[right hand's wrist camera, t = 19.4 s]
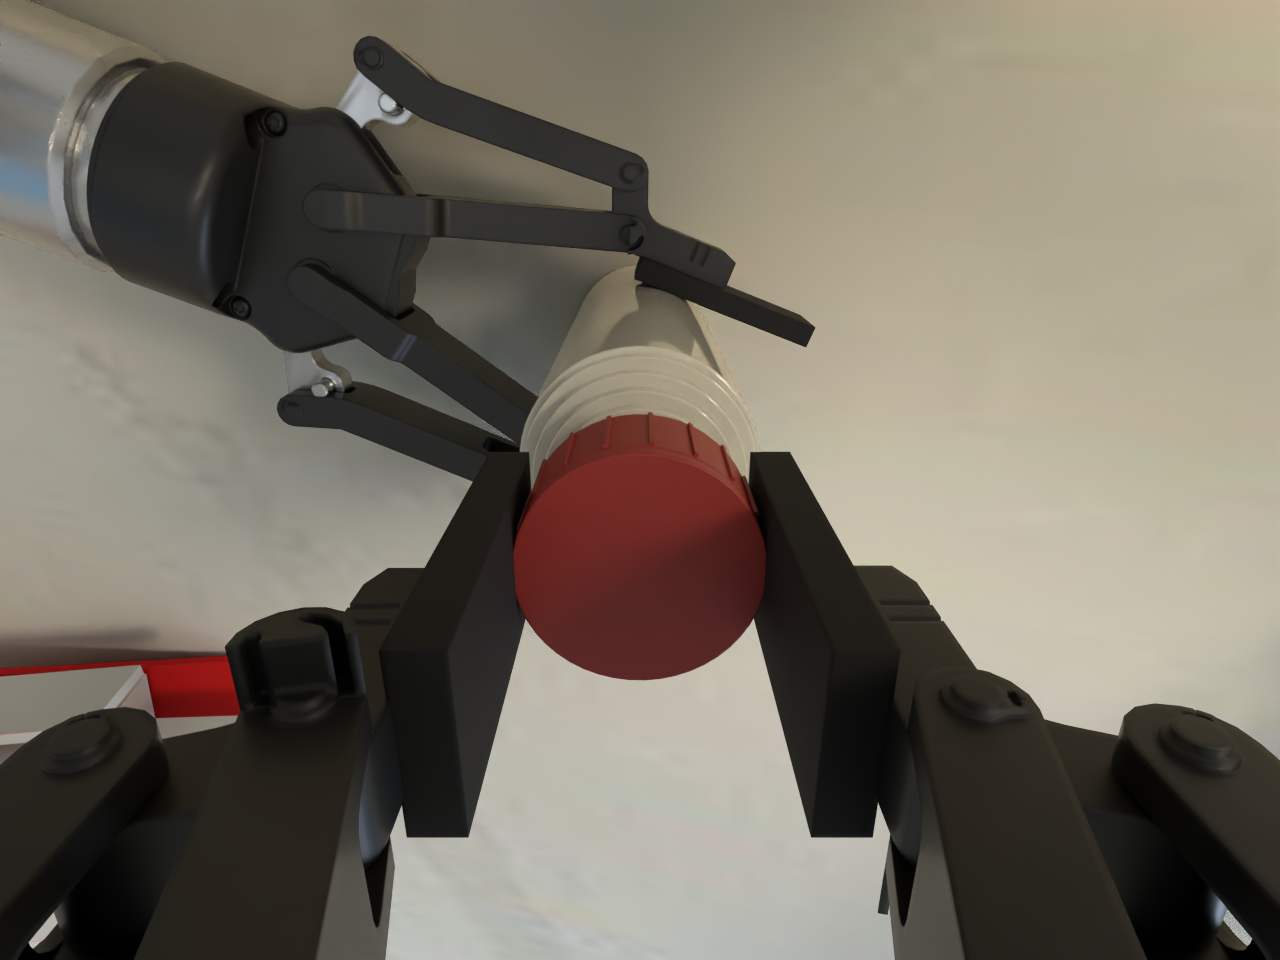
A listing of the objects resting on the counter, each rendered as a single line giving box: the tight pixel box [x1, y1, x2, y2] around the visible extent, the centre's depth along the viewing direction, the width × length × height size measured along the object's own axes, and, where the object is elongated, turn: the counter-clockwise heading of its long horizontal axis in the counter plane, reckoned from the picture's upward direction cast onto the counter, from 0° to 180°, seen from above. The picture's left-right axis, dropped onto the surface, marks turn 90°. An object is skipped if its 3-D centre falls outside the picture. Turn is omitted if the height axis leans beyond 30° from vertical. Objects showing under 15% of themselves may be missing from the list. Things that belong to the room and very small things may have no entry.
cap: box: [513, 412, 766, 680], centre depth 14 cm, size 4×4×2 cm
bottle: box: [520, 265, 760, 492], centre depth 23 cm, size 6×6×22 cm
